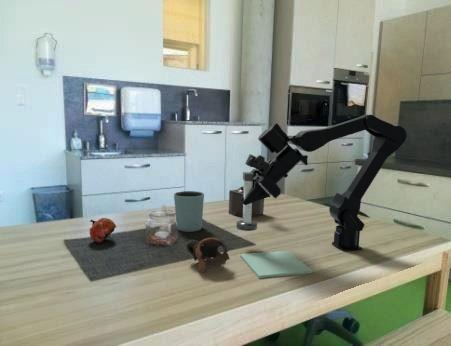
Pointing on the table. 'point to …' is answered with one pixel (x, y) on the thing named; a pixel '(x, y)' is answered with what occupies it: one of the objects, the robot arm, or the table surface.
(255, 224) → the square pillar on disc
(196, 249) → the pottery mug
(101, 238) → the red ribbed fruit
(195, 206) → the green cup
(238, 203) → the pepper mill
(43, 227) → the table surface
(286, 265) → the rest mat
